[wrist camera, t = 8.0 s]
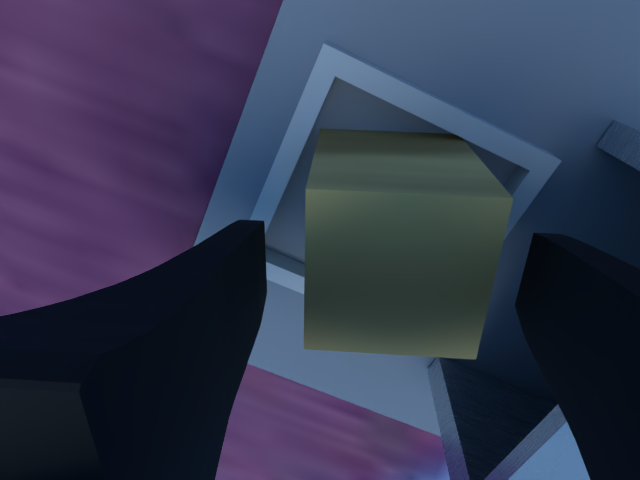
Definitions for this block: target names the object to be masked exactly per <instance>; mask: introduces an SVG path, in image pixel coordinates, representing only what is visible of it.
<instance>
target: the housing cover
mask: <svg viewBox="0 0 640 480" xmlns="http://www.w3.org/2000/svg"><path fill="white" fill-rule="evenodd" d="M596 146H597V147H598V148H600V149H602V150H604V151H605V152H607V153H609V154H611V155H613V156H614V157H616V158H618V159H620V160H621V161H623V162H625V163H627V164H628V165H630V166H632V167H634V168H635V169H637V170H639V171H640V131H639V130H637V129H634V128H632V127H630V126H627V125H625V124H623V123H620V122H618V121H616V120H615V121H614V122H613V124H612V125H611V126H610V128H609V129H608V130H607V132H606V133H605V134H604V136H603V137H602V138H601V140H600V141H599V142H598V144H597V145H596ZM427 372H428V377H429V382H430V386H431V391H432V396H433V400H434V405H435V410H436V415H437V419H438V424H439V429H440V433H441V438H442V443H443V448H444V452H445V457H446V462H447V467H448V471H449V476H450V480H590V477H589V475H588V472H587V470H586V467H585V464H584V462H583V459H582V456H581V454H580V451H579V448H578V446H577V443H576V441H575V438H574V436H573V434H572V432H571V429H570V427H569V425H568V423H567V421H566V419H565V417H564V415H563V413H562V411H561V409H560V407H559V405H558V404H557V403H554V402H552V401H549V400H547V399H544V398H542V397H540V396H537V395H535V394H532V393H530V392H527V391H525V390H522V389H520V388H517V387H515V386H512V385H510V384H508V383H505V382H503V381H500V380H498V379H495V378H493V377H490V376H488V375H485V374H483V373H480V372H478V371H476V370H473V369H471V368H468V367H466V366H463V365H461V364H458V363H456V362H453V361H451V360H448V359H446V358H442V357H437V358H436V359H435V360H434V362H433V363H432V364H431V366H430V367H429V368H428V370H427Z"/></svg>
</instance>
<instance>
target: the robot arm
mask: <svg viewBox="0 0 640 480" xmlns="http://www.w3.org/2000/svg"><path fill="white" fill-rule="evenodd" d="M266 296H267V275H266V249H265V224H264V221H261V220H237V221H235V222H233V223H231V224H230V225H228V226H226V227H225V228H223V229H221V230H220V231H218V232H217V233H215V234H213V235H212V236H210V237H209V238H207V239H205V240H204V241H202V242H200V243H199V244H197V245H196V246H194V247H192V248H191V249H189V250H187V251H185V252H183V253H181V254H180V255H178V256H176V257H174V258H172V259H170V260H169V261H167V262H165V263H163V264H161V265H159V266H157V267H155V268H153V269H151V270H149V271H146V272H144V273H142V274H140V275H137V276H135V277H133V278H130V279H128V280H125V281H123V282H120V283H118V284H115V285H112V286H109V287H106V288H103V289H100V290H97V291H94V292H91V293H88V294H85V295H82V296H79V297H76V298H73V299H70V300H67V301H63V302H59V303H55V304H52V305H48V306H44V307H40V308H36V309H32V310H27V311H23V312H19V313H15V314H10V315H5V316H0V480H215V476H216V472H217V467H218V462H219V458H220V454H221V449H222V445H223V441H224V437H225V432H226V428H227V424H228V420H229V416H230V413H231V410H232V406H233V403H234V400H235V397H236V394H237V391H238V388H239V386H240V383H241V380H242V377H243V374H244V372H245V369H246V366H247V363H248V360H249V358H250V355H251V352H252V349H253V346H254V343H255V340H256V338H257V335H258V332H259V329H260V326H261V321H262V316H263V312H264V307H265V301H266ZM515 308H516V311H517V315H518V318H519V321H520V325H521V328H522V330H523V333H524V336H525V339H526V342H527V344H528V346H529V348H530V350H531V352H532V354H533V356H534V358H535V360H536V362H537V364H538V366H539V368H540V370H541V372H542V374H543V376H544V378H545V380H546V382H547V384H548V386H549V388H550V389H551V391H552V393H553V395H554V397H555V399H556V401H557V403H558V405H559V407H560V409H561V411H562V413H563V415H564V417H565V419H566V421H567V423H568V425H569V427H570V429H571V432H572V434H573V436H574V438H575V441H576V443H577V446H578V448H579V451H580V454H581V456H582V459H583V462H584V464H585V467H586V470H587V472H588V475H589V477H590V480H640V269H639V268H637V267H635V266H633V265H631V264H629V263H627V262H624V261H622V260H620V259H618V258H616V257H614V256H612V255H610V254H608V253H606V252H604V251H601V250H599V249H597V248H595V247H593V246H591V245H589V244H586V243H584V242H582V241H579V240H577V239H574V238H572V237H569V236H566V235H563V234H553V233H533V236H532V240H531V244H530V248H529V252H528V256H527V260H526V263H525V267H524V271H523V275H522V279H521V283H520V287H519V291H518V294H517V298H516V302H515Z"/></svg>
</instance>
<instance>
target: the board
mask: <svg viewBox="0 0 640 480" xmlns="http://www.w3.org/2000/svg"><path fill="white" fill-rule="evenodd" d="M615 120H616V121H618V122H620V123H623V124H625V125H627V126H630V127H632V128H634V129H637V130H639V131H640V0H283V2H282V5H281V8H280V11H279V13H278V16H277V19H276V21H275V24H274V27H273V30H272V32H271V35H270V38H269V41H268V43H267V46H266V49H265V52H264V54H263V57H262V60H261V63H260V65H259V68H258V71H257V74H256V76H255V79H254V82H253V85H252V87H251V90H250V93H249V96H248V98H247V101H246V104H245V106H244V109H243V112H242V115H241V117H240V120H239V123H238V126H237V128H236V131H235V134H234V137H233V139H232V142H231V145H230V148H229V150H228V153H227V156H226V159H225V161H224V164H223V167H222V170H221V172H220V175H219V178H218V181H217V183H216V186H215V189H214V192H213V194H212V197H211V200H210V202H209V205H208V208H207V211H206V213H205V216H204V219H203V222H202V224H201V227H200V230H199V233H198V235H197V238H196V241H195V244H194V246H196V245H197V244H199V243H200V242H202V241H204V240H205V239H207V238H209V237H210V236H212V235H213V234H215V233H217V232H218V231H220V230H221V229H223V228H225V227H226V226H228V225H230V224H231V223H233V222H235V221H237V220H261V221H264V224H265V249H266V275H267V296H266V301H265V307H264V312H263V316H262V321H261V326H260V329H259V332H258V335H257V338H256V340H255V343H254V346H253V349H252V352H251V355H250V358H249V360H248V364H250V365H253V366H256V367H258V368H261V369H263V370H266V371H269V372H271V373H274V374H277V375H279V376H282V377H285V378H287V379H290V380H293V381H295V382H298V383H300V384H303V385H306V386H308V387H311V388H314V389H316V390H319V391H322V392H324V393H327V394H330V395H332V396H335V397H337V398H340V399H343V400H345V401H348V402H351V403H353V404H356V405H359V406H361V407H364V408H366V409H369V410H372V411H374V412H377V413H380V414H382V415H385V416H388V417H390V418H393V419H396V420H398V421H401V422H403V423H406V424H409V425H411V426H414V427H417V428H419V429H422V430H425V431H427V432H430V433H433V434H435V435H438V436H440V437H441V433H440V429H439V424H438V419H437V415H436V410H435V405H434V400H433V396H432V391H431V386H430V382H429V377H428V372H427V370H428V368H429V367H430V366H431V364H432V363H433V362H434V360H435V359H436V358H437V357H425V356H408V355H392V354H375V353H358V352H341V351H324V350H307V349H304V276H305V196H306V185H307V181H308V177H309V173H310V169H311V165H312V161H313V156H314V152H315V148H316V144H317V140H318V136H319V132H320V128H322V129H347V130H372V131H397V132H422V133H447V134H455V135H457V136H459V137H461V138H463V140H464V141H465V142H466V143H467V144H468V145H469V147H470V148H471V149H472V150H473V151H474V152H475V154H476V155H477V156H478V157H479V158H480V160H481V161H482V162H483V163H484V164H485V165H486V167H487V168H488V169H489V170H490V171H491V172H492V174H493V175H494V176H495V177H496V178H497V179H498V181H499V182H500V183H501V184H502V185H503V187H504V188H505V189H506V190H507V191H508V192H509V194H510V195H511V196H512V197H513V203H512V207H511V211H510V216H509V220H508V224H507V228H506V233H505V237H504V241H503V246H502V250H501V254H500V258H499V263H498V267H497V271H496V276H495V280H494V284H493V289H492V293H491V297H490V301H489V306H488V310H487V314H486V319H485V323H484V327H483V332H482V336H481V340H480V344H479V349H478V353H477V357H476V359H459V358H446V359H448V360H451V361H453V362H456V363H458V364H461V365H463V366H466V367H468V368H471V369H473V370H476V371H478V372H480V373H483V374H485V375H488V376H490V377H493V378H495V379H498V380H500V381H503V382H505V383H508V384H510V385H512V386H515V387H517V388H520V389H522V390H525V391H527V392H530V393H532V394H535V395H537V396H540V397H542V398H544V399H547V400H549V401H552V402H554V403H557V401H556V399H555V397H554V395H553V393H552V391H551V389H550V388H549V386H548V384H547V382H546V380H545V378H544V376H543V374H542V372H541V370H540V368H539V366H538V364H537V362H536V360H535V358H534V356H533V354H532V352H531V350H530V348H529V346H528V344H527V342H526V339H525V336H524V333H523V330H522V328H521V325H520V321H519V318H518V315H517V311H516V308H515V302H516V298H517V294H518V291H519V287H520V283H521V279H522V275H523V271H524V267H525V263H526V260H527V256H528V252H529V248H530V244H531V240H532V236H533V233H553V234H563V235H566V236H569V237H572V238H574V239H577V240H579V241H582V242H584V243H586V244H589V245H591V246H593V247H595V248H597V249H599V250H601V251H604V252H606V253H608V254H610V255H612V256H614V257H616V258H618V259H620V260H622V261H624V262H627V263H629V264H631V265H633V266H635V267H637V268H639V269H640V171H639V170H637V169H635V168H634V167H632V166H630V165H628V164H627V163H625V162H623V161H621V160H620V159H618V158H616V157H614V156H613V155H611V154H609V153H607V152H605V151H604V150H602V149H600V148H598V147H597V146H596V145H597V144H598V142H599V141H600V140H601V138H602V137H603V136H604V134H605V133H606V132H607V130H608V129H609V128H610V126H611V125H612V124H613V122H614V121H615ZM194 246H193V247H194ZM557 404H558V403H557Z"/></svg>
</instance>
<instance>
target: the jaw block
mask: <svg viewBox="0 0 640 480" xmlns="http://www.w3.org/2000/svg"><path fill="white" fill-rule="evenodd" d="M512 203H513V197H512V196H511V195H510V194H509V192H508V191H507V190H506V189H505V188H504V187H503V185H502V184H501V183H500V182H499V181H498V179H497V178H496V177H495V176H494V175H493V174H492V172H491V171H490V170H489V169H488V168H487V167H486V165H485V164H484V163H483V162H482V161H481V160H480V158H479V157H478V156H477V155H476V154H475V152H474V151H473V150H472V149H471V148H470V147H469V145H468V144H467V143H466V142H465V141H464V140H463V138H461V137H459V136H457V135H455V134H447V133H422V132H397V131H372V130H347V129H322V128H320V132H319V136H318V140H317V144H316V148H315V152H314V156H313V161H312V165H311V169H310V173H309V177H308V181H307V185H306V196H305V276H304V349H307V350H324V351H341V352H358V353H375V354H392V355H408V356H425V357H442V358H459V359H476V357H477V353H478V349H479V344H480V340H481V336H482V332H483V327H484V323H485V319H486V314H487V310H488V306H489V301H490V297H491V293H492V289H493V284H494V280H495V276H496V271H497V267H498V263H499V258H500V254H501V250H502V246H503V241H504V237H505V233H506V228H507V224H508V220H509V216H510V211H511V207H512Z"/></svg>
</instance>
